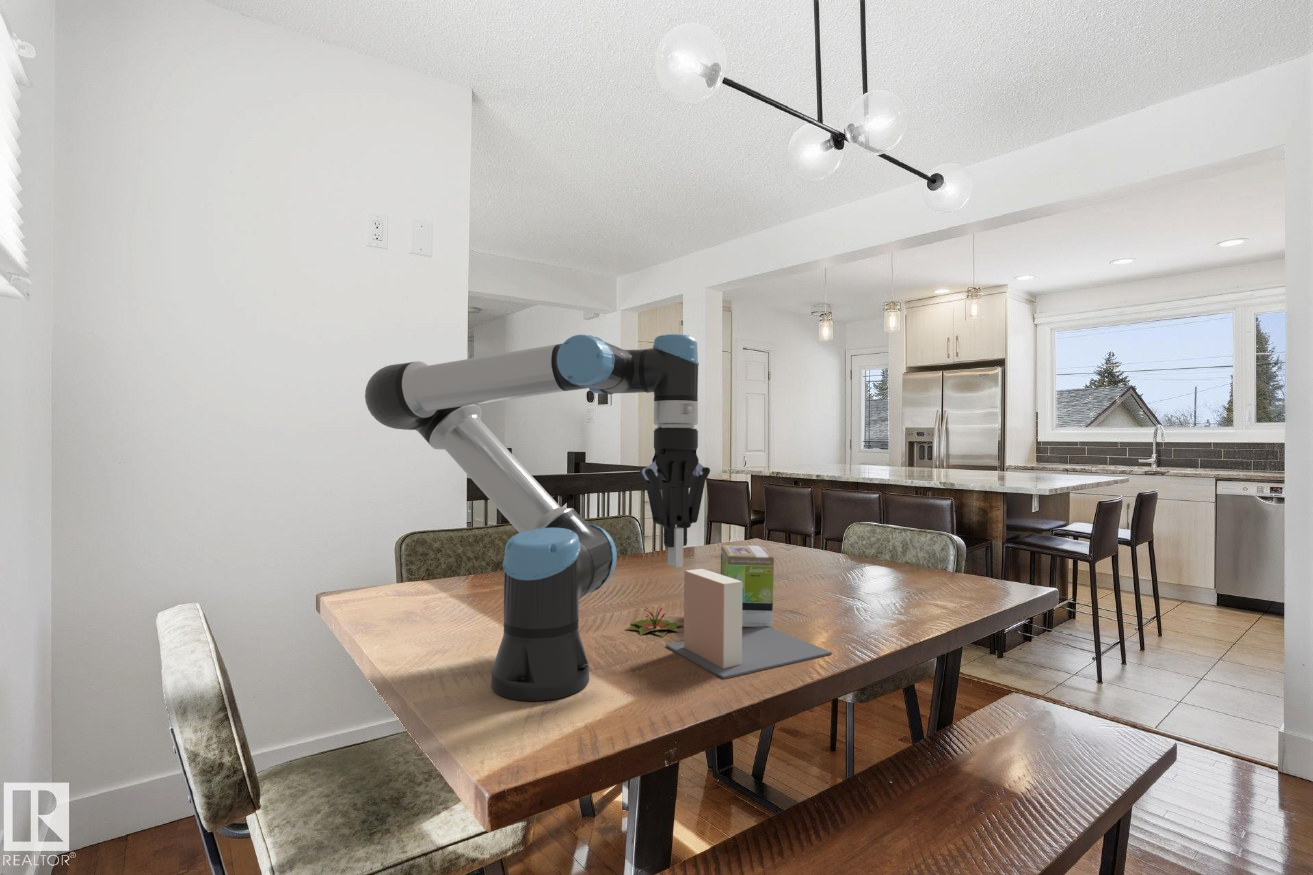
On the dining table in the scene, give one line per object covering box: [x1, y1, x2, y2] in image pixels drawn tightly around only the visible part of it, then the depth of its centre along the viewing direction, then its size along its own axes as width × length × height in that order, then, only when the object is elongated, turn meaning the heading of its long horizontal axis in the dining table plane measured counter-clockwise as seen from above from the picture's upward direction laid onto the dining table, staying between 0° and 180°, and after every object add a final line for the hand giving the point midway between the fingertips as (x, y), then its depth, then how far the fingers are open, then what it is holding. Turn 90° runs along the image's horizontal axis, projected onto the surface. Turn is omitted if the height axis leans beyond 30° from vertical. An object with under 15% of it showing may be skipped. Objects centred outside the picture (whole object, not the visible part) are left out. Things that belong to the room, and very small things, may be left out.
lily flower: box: [624, 606, 683, 638], centre depth 127 cm, size 12×12×5 cm
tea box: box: [720, 544, 775, 628], centre depth 135 cm, size 15×10×15 cm
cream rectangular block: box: [683, 568, 743, 668], centre depth 110 cm, size 4×12×14 cm, turn 30°
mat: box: [665, 626, 833, 680], centre depth 113 cm, size 24×18×1 cm
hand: (675, 565), depth 105 cm, fingers closed
